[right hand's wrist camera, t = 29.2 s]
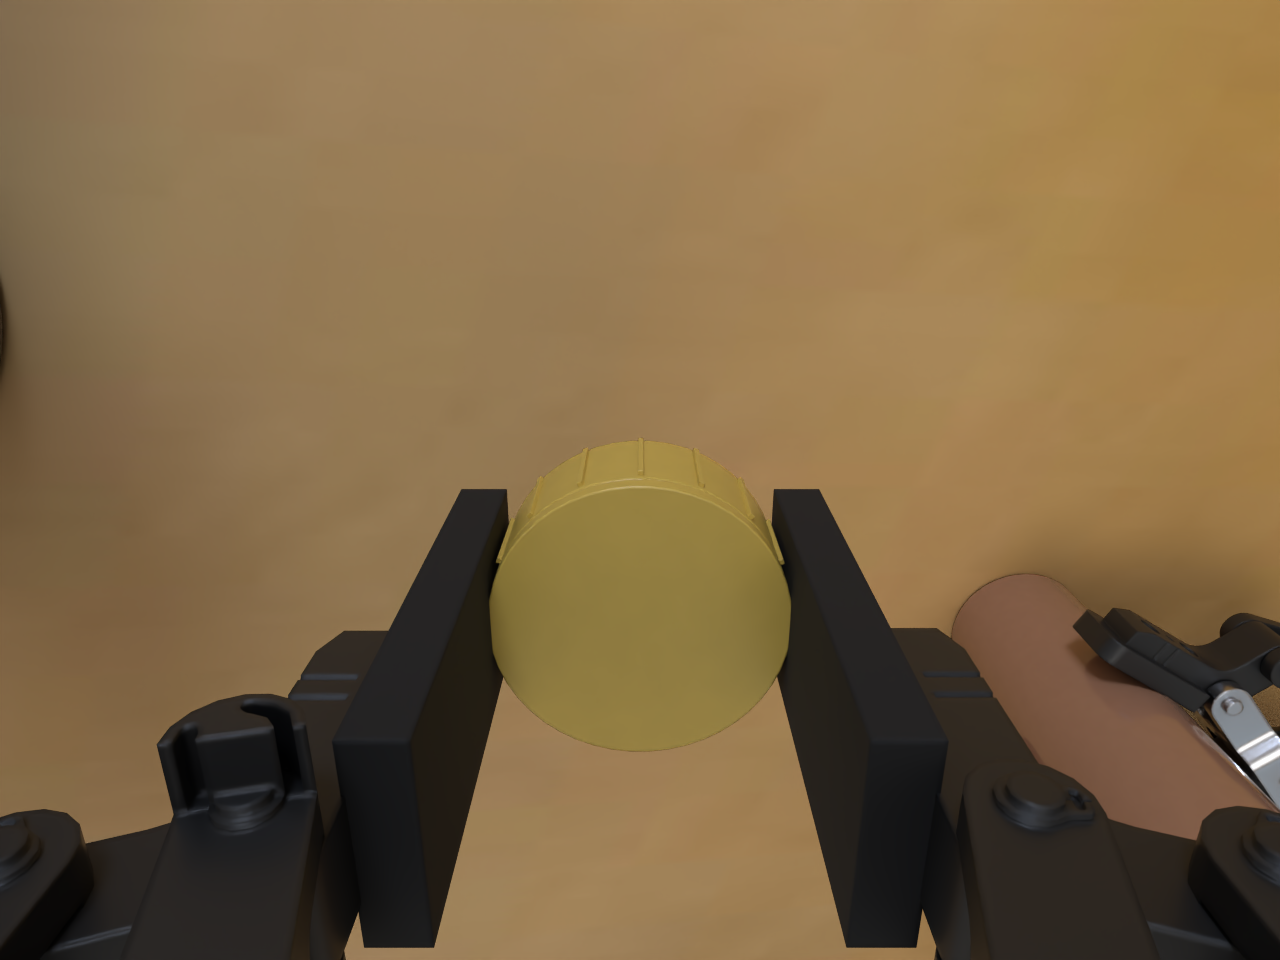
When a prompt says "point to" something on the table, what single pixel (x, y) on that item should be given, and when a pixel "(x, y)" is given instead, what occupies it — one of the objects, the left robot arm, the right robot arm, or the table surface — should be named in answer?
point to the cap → (640, 598)
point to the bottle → (1096, 712)
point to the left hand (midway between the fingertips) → (1032, 699)
